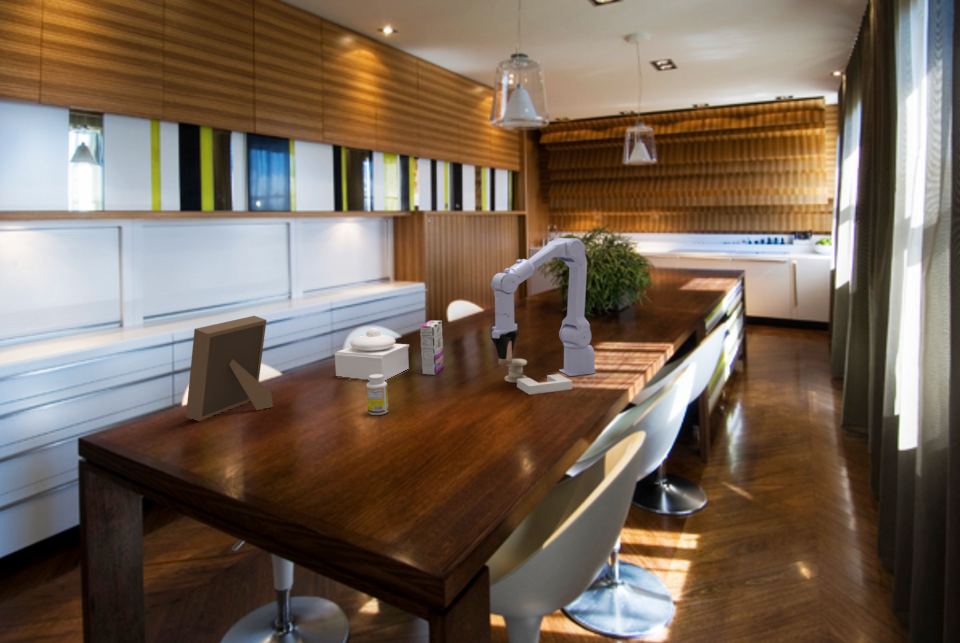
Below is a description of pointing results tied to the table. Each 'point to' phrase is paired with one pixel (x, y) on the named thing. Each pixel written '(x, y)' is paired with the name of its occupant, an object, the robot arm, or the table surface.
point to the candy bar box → (431, 347)
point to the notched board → (544, 384)
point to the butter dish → (372, 357)
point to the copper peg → (509, 355)
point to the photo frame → (227, 367)
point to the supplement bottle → (377, 395)
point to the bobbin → (516, 370)
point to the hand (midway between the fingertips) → (505, 357)
